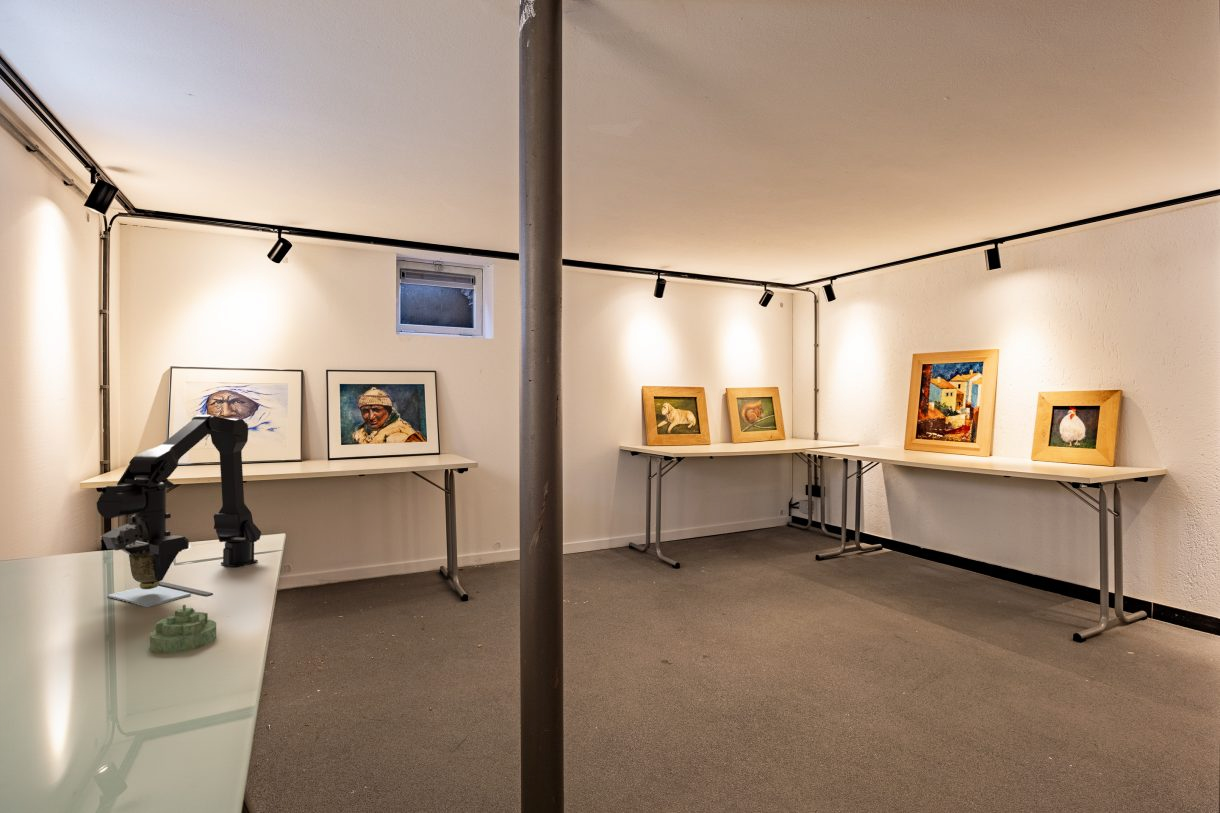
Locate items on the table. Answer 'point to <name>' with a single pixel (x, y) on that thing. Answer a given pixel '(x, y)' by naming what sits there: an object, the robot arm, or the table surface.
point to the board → (149, 596)
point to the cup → (143, 570)
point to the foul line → (185, 589)
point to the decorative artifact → (182, 632)
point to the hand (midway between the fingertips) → (150, 578)
